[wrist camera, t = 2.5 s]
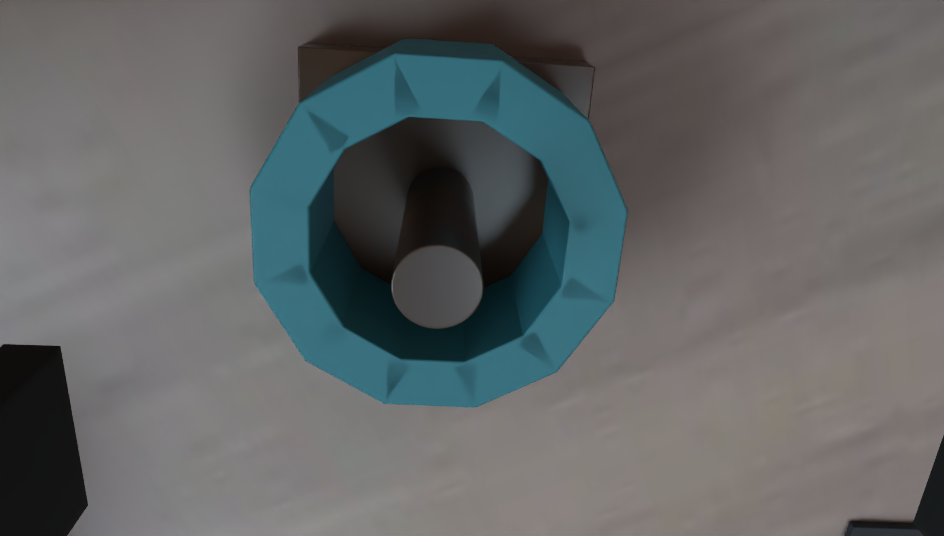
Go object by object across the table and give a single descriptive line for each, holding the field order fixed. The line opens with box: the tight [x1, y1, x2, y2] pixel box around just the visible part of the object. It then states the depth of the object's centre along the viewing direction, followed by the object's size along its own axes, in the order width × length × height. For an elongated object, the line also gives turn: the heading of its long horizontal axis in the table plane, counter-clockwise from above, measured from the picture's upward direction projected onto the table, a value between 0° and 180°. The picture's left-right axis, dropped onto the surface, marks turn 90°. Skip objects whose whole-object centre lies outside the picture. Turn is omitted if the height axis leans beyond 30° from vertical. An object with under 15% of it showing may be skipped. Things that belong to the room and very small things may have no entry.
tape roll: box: [250, 38, 628, 407], centre depth 24 cm, size 11×11×5 cm
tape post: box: [298, 43, 595, 329], centre depth 23 cm, size 10×10×10 cm
